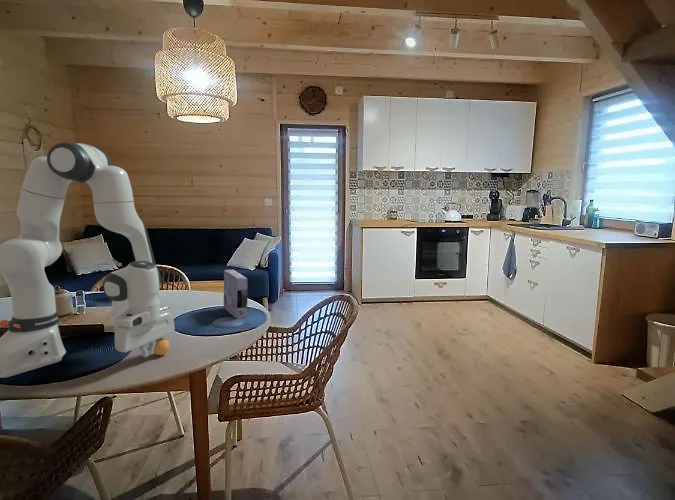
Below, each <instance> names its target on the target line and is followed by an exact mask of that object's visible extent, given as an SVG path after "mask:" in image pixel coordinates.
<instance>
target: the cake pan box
mask: <svg viewBox="0 0 675 500" xmlns="http://www.w3.org/2000/svg"><path fill="white" fill-rule="evenodd" d="M248 296H249V295H248V278H247V277H246V276H244V275H242V274H241V273H239V272H238V271H236V270H235V269H224V271H223V309H225V310H226V311H227V312H228V313H229V314H230V315H231V316H232V317H235V318H237V319H239V318H242V319H246V318H245V317H247V316H248V315H247V313H248V312H247V311H248V310H247V306H248V298H249V297H248Z"/></svg>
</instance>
